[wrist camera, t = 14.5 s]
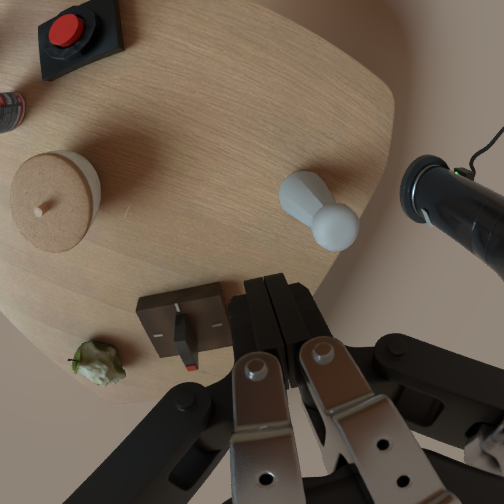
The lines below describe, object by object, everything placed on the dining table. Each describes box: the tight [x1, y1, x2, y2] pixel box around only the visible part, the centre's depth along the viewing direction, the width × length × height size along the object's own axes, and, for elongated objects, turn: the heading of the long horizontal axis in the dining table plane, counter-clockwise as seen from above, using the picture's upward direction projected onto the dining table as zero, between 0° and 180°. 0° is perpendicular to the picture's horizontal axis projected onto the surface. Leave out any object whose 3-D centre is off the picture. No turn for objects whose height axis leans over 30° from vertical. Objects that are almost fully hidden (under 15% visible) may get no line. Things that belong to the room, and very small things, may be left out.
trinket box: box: [10, 150, 101, 253], centre depth 25 cm, size 11×11×9 cm
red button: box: [49, 14, 84, 47], centre depth 17 cm, size 4×4×2 cm
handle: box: [173, 314, 198, 371], centre depth 37 cm, size 6×2×5 cm, turn 8°
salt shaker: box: [279, 170, 360, 252], centre depth 29 cm, size 6×6×13 cm
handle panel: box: [136, 282, 233, 358], centre depth 40 cm, size 12×10×3 cm
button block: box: [38, 0, 124, 81], centre depth 19 cm, size 10×8×4 cm
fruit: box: [68, 341, 126, 386], centre depth 40 cm, size 9×9×8 cm
